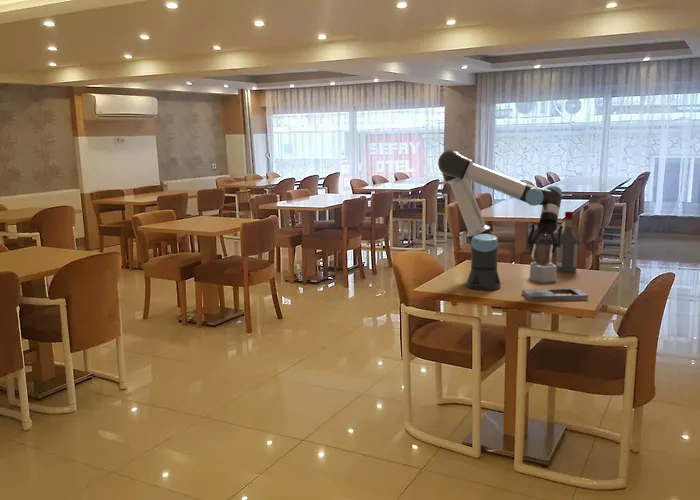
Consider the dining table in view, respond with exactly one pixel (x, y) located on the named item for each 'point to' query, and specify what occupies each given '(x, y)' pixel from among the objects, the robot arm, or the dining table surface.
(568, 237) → the liquor
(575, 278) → the dining table surface
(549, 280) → the lumpy-topped squat cylinder
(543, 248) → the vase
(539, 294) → the grey slab with opening
